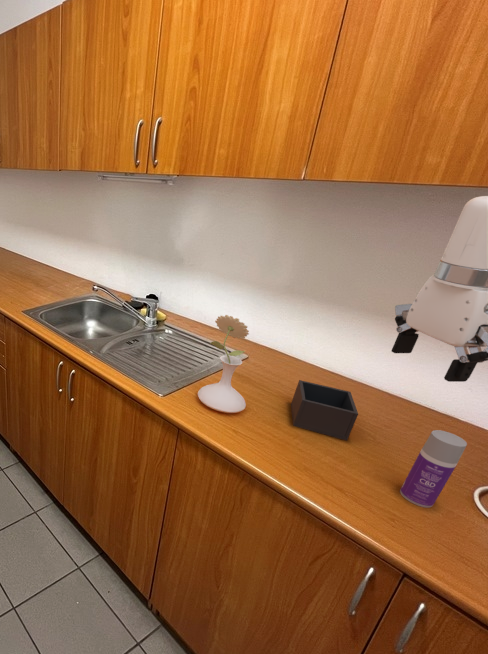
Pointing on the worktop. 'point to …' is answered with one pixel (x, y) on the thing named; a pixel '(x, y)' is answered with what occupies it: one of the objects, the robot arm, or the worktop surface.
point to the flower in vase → (226, 371)
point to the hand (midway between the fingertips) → (426, 365)
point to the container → (432, 468)
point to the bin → (323, 409)
